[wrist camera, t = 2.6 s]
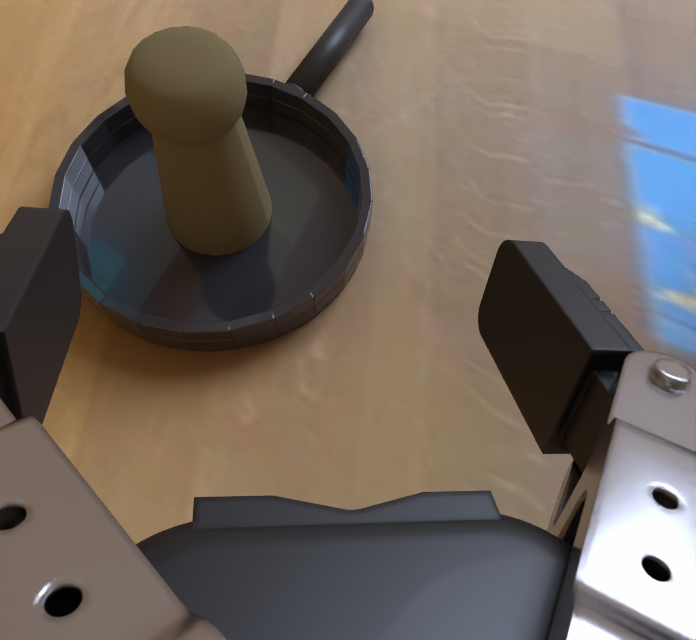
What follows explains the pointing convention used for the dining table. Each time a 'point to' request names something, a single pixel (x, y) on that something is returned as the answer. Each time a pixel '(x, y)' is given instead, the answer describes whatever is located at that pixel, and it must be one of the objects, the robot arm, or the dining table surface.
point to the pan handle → (331, 46)
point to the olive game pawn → (199, 138)
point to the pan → (224, 270)
